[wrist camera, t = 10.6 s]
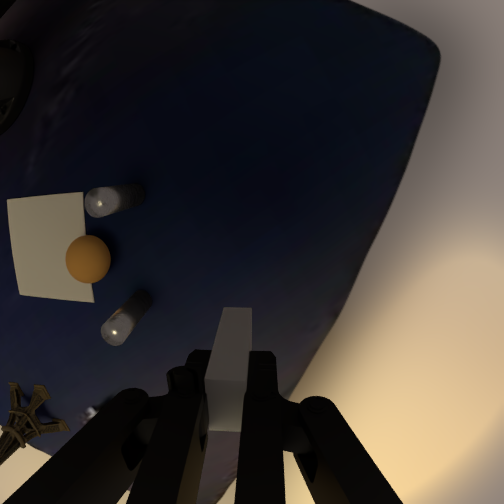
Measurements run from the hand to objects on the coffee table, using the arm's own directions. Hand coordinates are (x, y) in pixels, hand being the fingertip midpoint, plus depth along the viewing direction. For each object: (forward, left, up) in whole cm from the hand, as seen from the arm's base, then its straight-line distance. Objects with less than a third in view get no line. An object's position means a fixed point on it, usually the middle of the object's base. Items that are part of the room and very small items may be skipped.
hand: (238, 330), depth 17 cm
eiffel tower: (+30, -39, -19) cm, 53 cm away
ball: (0, -18, -16) cm, 24 cm away
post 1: (-6, -13, -18) cm, 23 cm away
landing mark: (0, -27, -18) cm, 33 cm away
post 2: (+6, -13, -18) cm, 23 cm away
